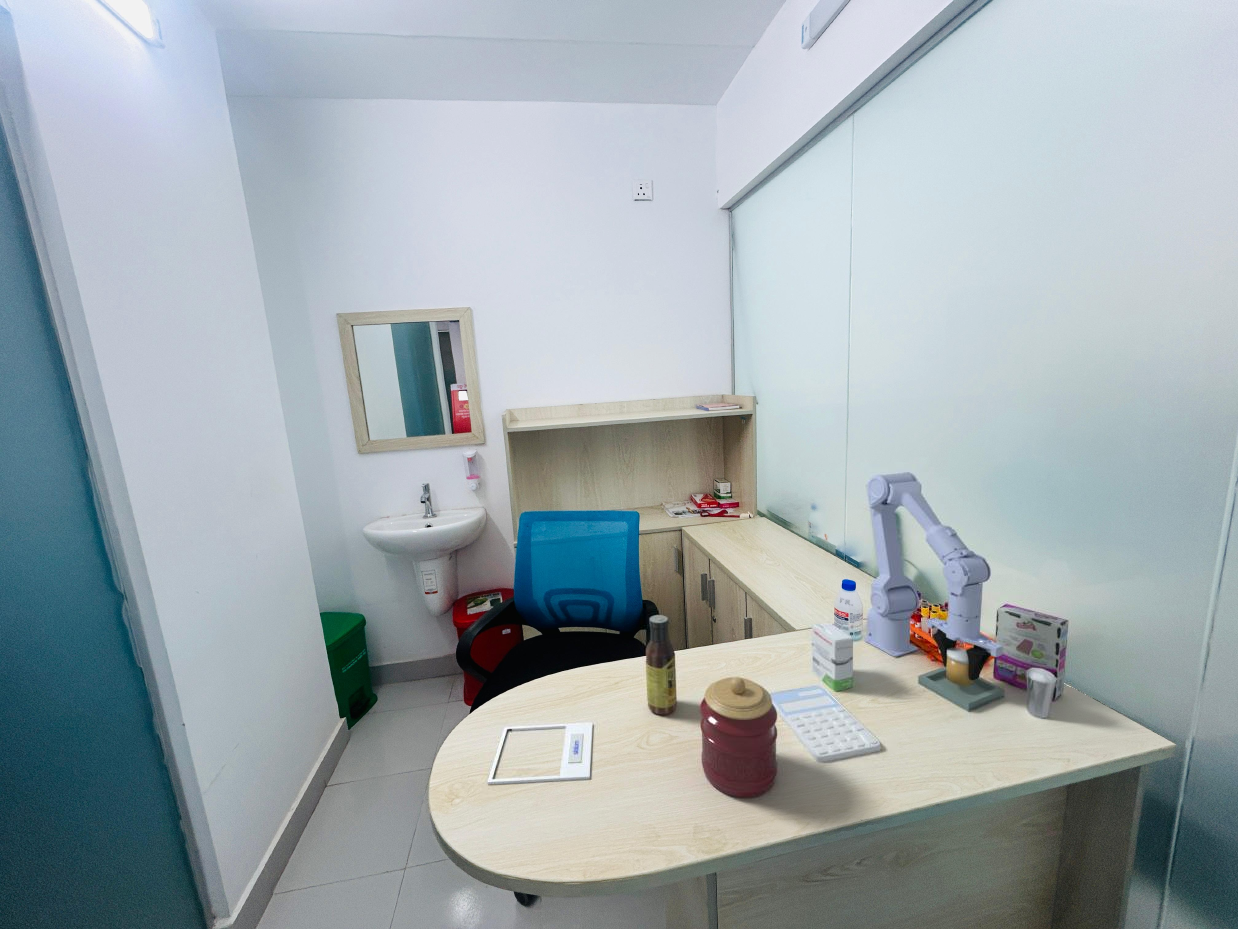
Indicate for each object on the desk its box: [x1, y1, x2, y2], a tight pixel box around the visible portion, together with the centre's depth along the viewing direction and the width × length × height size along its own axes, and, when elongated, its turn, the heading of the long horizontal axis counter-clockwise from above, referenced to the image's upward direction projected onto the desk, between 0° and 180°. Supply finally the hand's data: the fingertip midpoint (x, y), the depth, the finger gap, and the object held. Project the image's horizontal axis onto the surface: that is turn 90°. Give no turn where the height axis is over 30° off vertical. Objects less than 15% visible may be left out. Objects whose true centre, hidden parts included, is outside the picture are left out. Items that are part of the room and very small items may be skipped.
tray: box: [917, 666, 1005, 712], centre depth 108 cm, size 11×11×2 cm
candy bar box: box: [992, 603, 1069, 702], centre depth 108 cm, size 11×5×16 cm, turn 33°
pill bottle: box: [946, 647, 973, 686], centre depth 108 cm, size 5×5×6 cm
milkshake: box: [1026, 668, 1063, 719], centre depth 99 cm, size 4×5×10 cm
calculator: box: [768, 684, 882, 763], centre depth 101 cm, size 13×20×2 cm, turn 11°
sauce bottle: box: [645, 614, 677, 716], centre depth 106 cm, size 7×6×20 cm
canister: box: [699, 676, 778, 799], centre depth 88 cm, size 13×13×18 cm
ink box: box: [811, 622, 854, 692], centre depth 114 cm, size 9×5×12 cm, turn 14°
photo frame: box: [487, 721, 593, 786], centre depth 96 cm, size 15×1×18 cm
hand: (960, 672), depth 108 cm, fingers closed on pill bottle, 5 cm apart
